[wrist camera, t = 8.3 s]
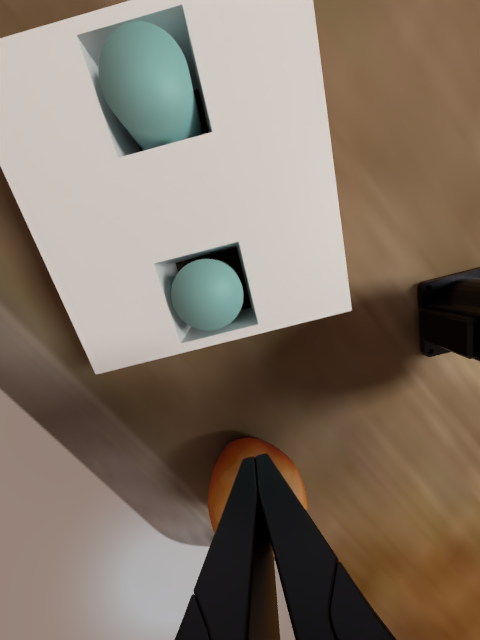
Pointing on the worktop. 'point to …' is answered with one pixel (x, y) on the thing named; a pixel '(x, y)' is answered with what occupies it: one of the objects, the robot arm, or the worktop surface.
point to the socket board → (177, 175)
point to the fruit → (230, 465)
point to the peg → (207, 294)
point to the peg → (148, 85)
